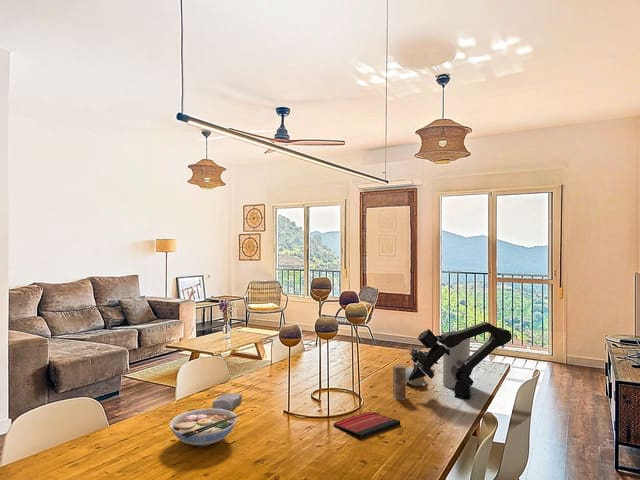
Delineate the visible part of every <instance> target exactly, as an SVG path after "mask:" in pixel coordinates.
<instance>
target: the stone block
mask: <svg viewBox="0 0 640 480" xmlns="http://www.w3.org/2000/svg"><path fill="white" fill-rule="evenodd" d="M242 401H243V395H242V394H237V393H232V392H231V393H225V394H222V395H220V396H218V397H217V398H216V399H214V400H213V401H212V407H213V408H212V409H223V410H228V411H233V410H234V409H235V408H236V407H237V406H238V405H240V403H242Z"/></svg>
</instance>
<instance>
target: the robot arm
mask: <svg viewBox="0 0 640 480" xmlns="http://www.w3.org/2000/svg"><path fill="white" fill-rule="evenodd" d="M485 333H488V334H490V335H489V338H488V339H487V341H485V342H484V343H483V344H482V345H481V346H480V347H478V349H476V350H475V351H474V352H473V353H472V354H470V357H469V358H468V359H466V360H465V361H461V360H458V361H457V362H456V363H455V364H453V367H452V368H451V374H452V376H453V377H454V378H455V380H456V381H457V382H456V385H455V389H454V397H455V398H458V399H465V400H470V399H471V398H472V397H473V394H472V386H473V385H474V380H473V378H471V377H469V376H471V375H472V372H473V371H474V368H475V367H476V366H478V364H480V363H481V362H482V361H483V360H485V359H486V358H487V357H488V356H489V355H491V353H492V352H494V351H495V350H496V349H497V348H500V347H502V346H504V345H507V344H508V343H510V341H511V340H513V339H512V338H513V337H512V332H511V331H509V330H508V329H505V328H503V327H497V326H496V325H493V324H491V323H490V322H487V321H482V322H481V323H478V324H476V325H471V326H470V327H467V328H463V329H461V330H457V331H446V333H445V332H443V333H442V334H440V335H435V334H434V333H433V331H431V329H430V328H427V330H424V331H423V332H421V333H420V334H419V335H418V336H417V340H418V341H419V342H420V343H421V344H422V345H423V346H424V347H425V348H426V349H429V350H428V351H424V352H423V350H420V349H419V350H418V349H415V348H414V347H413V348H412V349H411V351H410V352H409V355H410V356H411V358H410V359H411V361H413V362H412V365H413V368H414V369H413V371H412V373H411V374H410V376H409V378H408V379H409V381H412V380H415V379H417V378H420V377H424V378H425V377H428V378H429V379H430V380H432V379H433V378H434V377H435V372H434V371H433V370H432V367H434V365H437V364H439V362H438V361H439V360H440V359H441V358H443V355H444V354H445V353H446V354H447V355H448V356H450V350H449V349H446V348H445V347H444V346H443V344H444V345H445V346H447V347H449V348H453V347H455V346H457V345H458V344H460V343H461V342H462V341H464V340H466V339H469V338H470V339H471V338H474V337H476V336H477V337H478V336H479V335H482V334H485Z"/></svg>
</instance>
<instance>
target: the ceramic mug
mask: <svg viewBox="0 0 640 480" xmlns="http://www.w3.org/2000/svg"><path fill="white" fill-rule="evenodd" d="M413 369H414V367H412V366H409V367H406V383H408V384H410V385H412V386H413V387H420V386H422V385H423V384H425V385H427V383H428V381H427V380H426V379H425V376H424V377H420V378H417V379H415V380H412V381H409V379H408V378H409V376H410V374H411V373H412V371H413Z"/></svg>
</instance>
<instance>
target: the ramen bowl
mask: <svg viewBox="0 0 640 480" xmlns="http://www.w3.org/2000/svg"><path fill="white" fill-rule="evenodd" d="M241 416H244V412H242V413H240V414H236V413H235V412H233V411H232V410H223V409H214V408H210V407H208V408H199V409H194V410H190V411H185V412H182V413H180V414H179V415H176V416H175V417H173V419H170V422H169V427H170V430H171V431H172V433H173V434H174V435H175V437H177V438H178V439H179V440H180V442H183V443H184V444H187V445H190V446H191V445H192V446H197V447H208V446H210V445H212V444H215V443H218V442H220V441H222V440H223V439H225V438H226V437H227V436H228V435H229V434H230V433H231V432H232V430H233V429H234V427H235V426H236V424H237V422H238V420H239V419H238V417H241Z"/></svg>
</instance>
